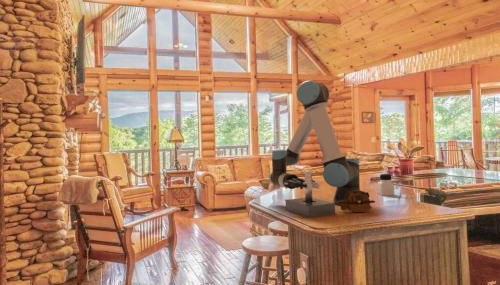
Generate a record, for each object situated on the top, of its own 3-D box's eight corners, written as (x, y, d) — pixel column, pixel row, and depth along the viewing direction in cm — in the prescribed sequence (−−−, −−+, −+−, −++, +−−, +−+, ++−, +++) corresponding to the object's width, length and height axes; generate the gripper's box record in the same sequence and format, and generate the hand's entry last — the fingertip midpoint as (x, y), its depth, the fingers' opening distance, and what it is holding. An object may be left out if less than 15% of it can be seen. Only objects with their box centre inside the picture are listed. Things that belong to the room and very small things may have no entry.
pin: (313, 204, 176) (312, 170, 176) (311, 206, 173) (311, 171, 173) (306, 204, 177) (305, 170, 177) (304, 205, 174) (304, 171, 174)
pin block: (285, 210, 181) (285, 199, 181) (310, 207, 187) (309, 197, 187) (308, 217, 163) (308, 206, 163) (335, 214, 169) (334, 203, 169)
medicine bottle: (394, 195, 213) (394, 174, 213) (381, 195, 213) (381, 174, 213) (390, 193, 220) (389, 173, 220) (377, 193, 221) (377, 173, 220)
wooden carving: (339, 213, 170) (339, 191, 169) (337, 211, 174) (337, 190, 174) (376, 213, 169) (376, 190, 169) (373, 210, 173) (373, 189, 173)
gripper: (302, 186, 195) (330, 192, 173) (275, 189, 188) (300, 196, 167) (302, 172, 195) (329, 176, 173) (274, 174, 188) (299, 179, 166)
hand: (315, 186), depth 170 cm, fingers closed on pin, 3 cm apart
